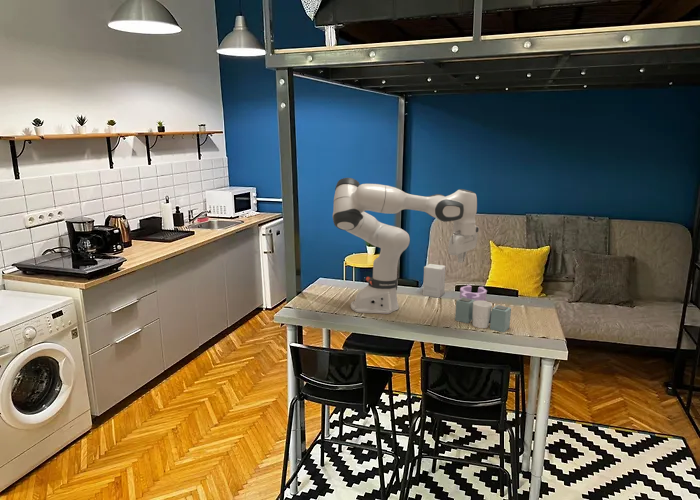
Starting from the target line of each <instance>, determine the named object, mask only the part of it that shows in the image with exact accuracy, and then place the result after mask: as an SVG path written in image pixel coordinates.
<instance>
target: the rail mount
mask: <svg viewBox="0 0 700 500" xmlns="http://www.w3.org/2000/svg"><path fill="white" fill-rule="evenodd" d="M474 301H475V300H473V299H468V298H463V297H462V298H460V297H459V298H458V299H457V300H456V303H455V314H454V315H455V316H454V321H457V322H460V323H465V324H469V323H471V322H473V318H472V316H473V314H472V313H473V302H474ZM511 313H512V307H509V306H505V305H499V304H497V305H495V306H494V307H492V308H491V315H490V321H489V330H492V331H497V332H501V333H505V332H507V331H508V330H509V329H510V326H511V325H510V324H511V315H512V314H511Z"/></svg>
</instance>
